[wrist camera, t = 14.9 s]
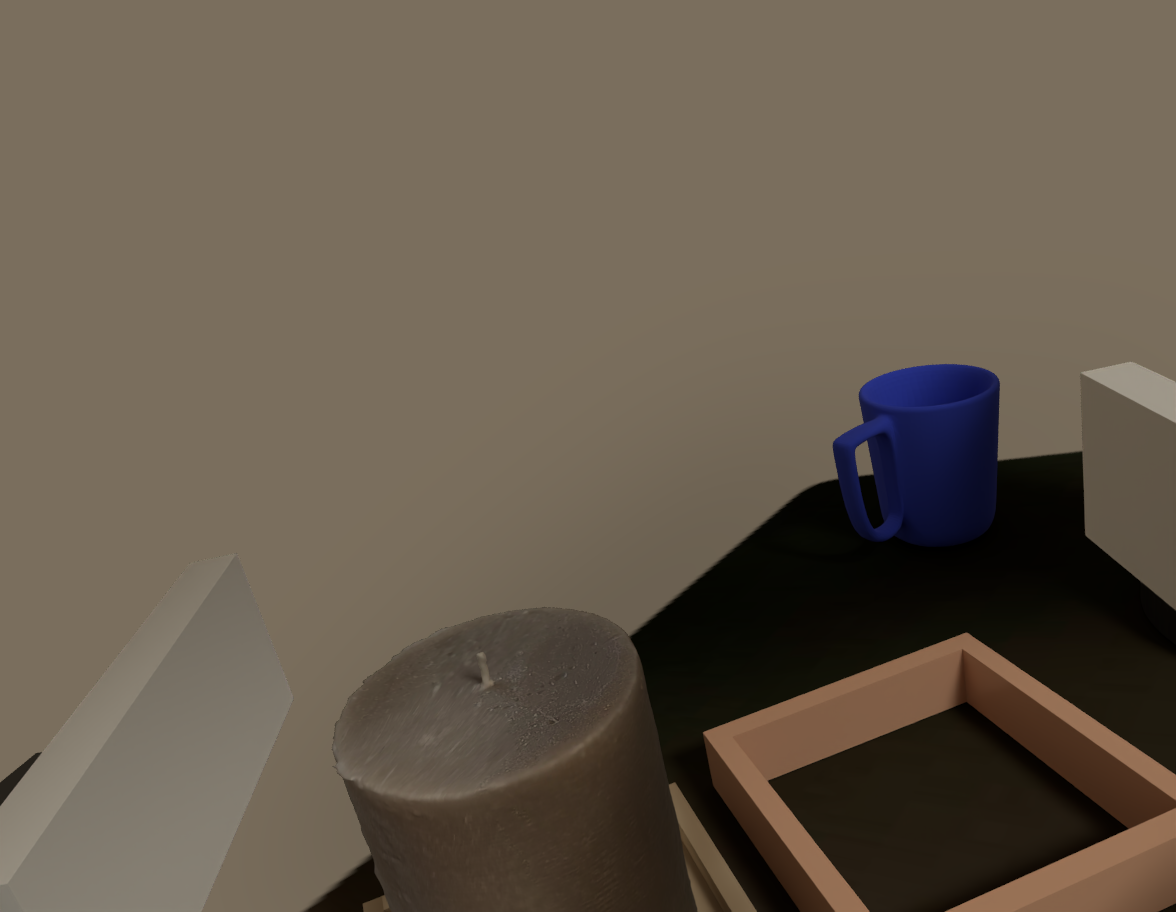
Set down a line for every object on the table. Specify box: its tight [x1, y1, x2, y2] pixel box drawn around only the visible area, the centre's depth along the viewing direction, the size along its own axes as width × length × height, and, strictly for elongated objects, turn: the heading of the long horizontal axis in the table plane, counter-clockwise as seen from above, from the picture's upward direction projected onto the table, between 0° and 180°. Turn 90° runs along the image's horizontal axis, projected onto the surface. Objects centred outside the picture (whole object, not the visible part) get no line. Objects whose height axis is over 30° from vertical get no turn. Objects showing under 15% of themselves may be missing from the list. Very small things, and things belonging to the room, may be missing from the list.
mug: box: [833, 364, 1000, 547], centre depth 59 cm, size 8×12×10 cm
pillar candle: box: [332, 607, 698, 912], centre depth 31 cm, size 10×10×15 cm
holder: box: [703, 633, 1176, 912], centre depth 38 cm, size 14×14×3 cm
